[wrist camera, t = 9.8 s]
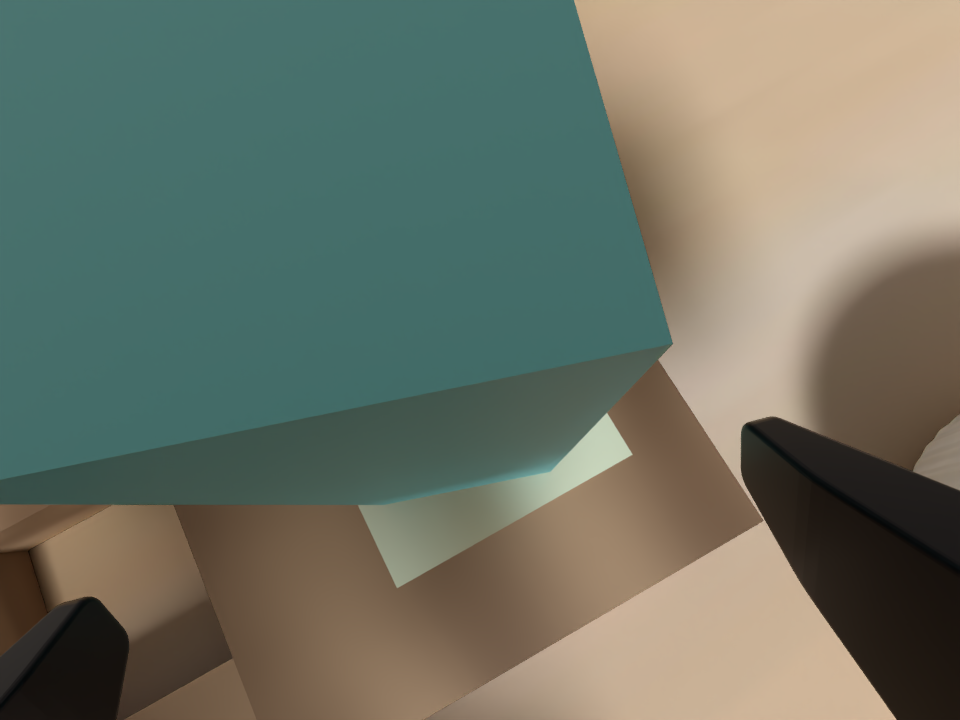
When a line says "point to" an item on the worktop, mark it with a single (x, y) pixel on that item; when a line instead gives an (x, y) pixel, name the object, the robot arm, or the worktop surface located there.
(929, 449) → the ramekin
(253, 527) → the puzzle board
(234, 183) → the teal block
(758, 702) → the worktop surface
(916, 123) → the worktop surface
